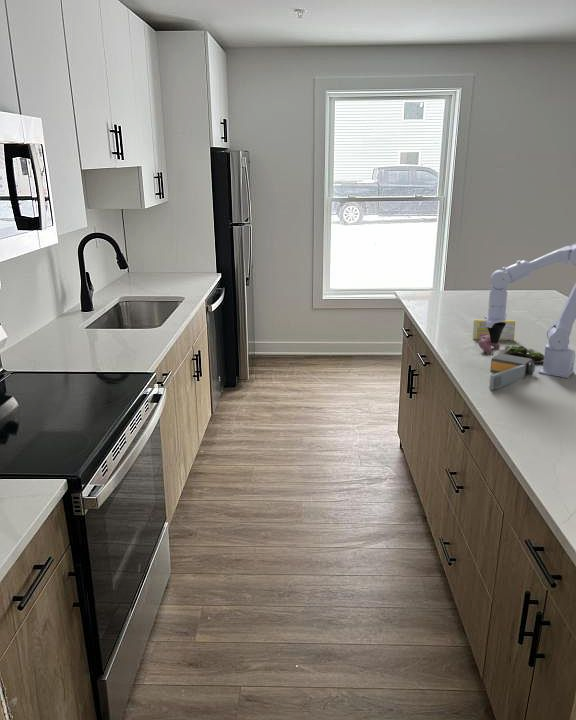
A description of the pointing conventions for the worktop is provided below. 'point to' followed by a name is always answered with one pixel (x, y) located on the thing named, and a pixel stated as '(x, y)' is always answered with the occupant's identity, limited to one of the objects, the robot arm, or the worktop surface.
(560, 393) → the worktop surface
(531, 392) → the worktop surface
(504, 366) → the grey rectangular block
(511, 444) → the worktop surface
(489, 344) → the video game controller
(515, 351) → the salad plate
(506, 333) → the candy box
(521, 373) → the side door
